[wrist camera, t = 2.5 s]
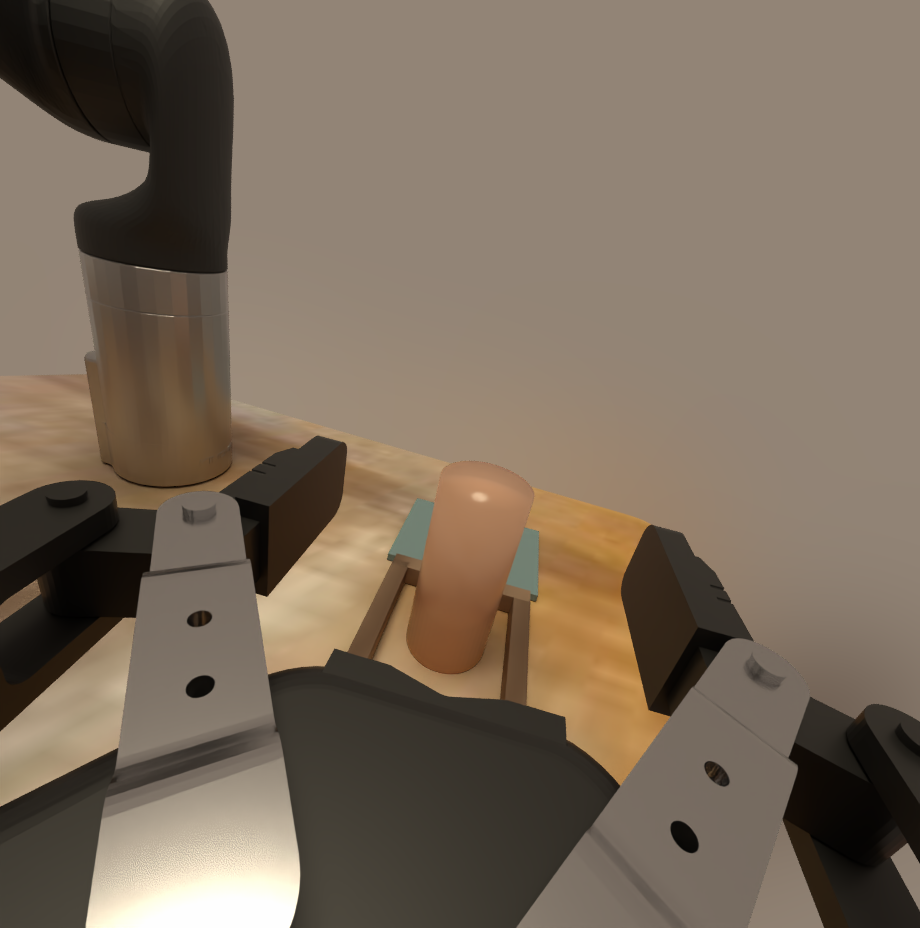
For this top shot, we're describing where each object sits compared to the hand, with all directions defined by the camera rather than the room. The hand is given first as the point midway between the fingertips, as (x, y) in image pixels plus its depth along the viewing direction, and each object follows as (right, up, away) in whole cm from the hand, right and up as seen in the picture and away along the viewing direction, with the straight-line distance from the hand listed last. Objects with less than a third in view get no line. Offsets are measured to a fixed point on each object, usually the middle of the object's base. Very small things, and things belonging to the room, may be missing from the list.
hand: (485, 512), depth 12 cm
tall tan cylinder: (-2, -10, +18) cm, 21 cm away
